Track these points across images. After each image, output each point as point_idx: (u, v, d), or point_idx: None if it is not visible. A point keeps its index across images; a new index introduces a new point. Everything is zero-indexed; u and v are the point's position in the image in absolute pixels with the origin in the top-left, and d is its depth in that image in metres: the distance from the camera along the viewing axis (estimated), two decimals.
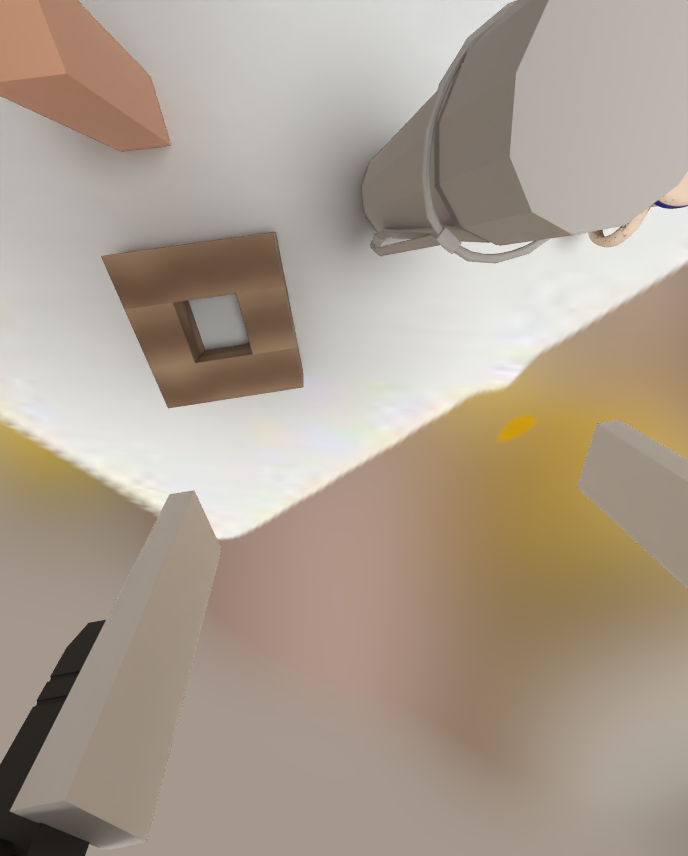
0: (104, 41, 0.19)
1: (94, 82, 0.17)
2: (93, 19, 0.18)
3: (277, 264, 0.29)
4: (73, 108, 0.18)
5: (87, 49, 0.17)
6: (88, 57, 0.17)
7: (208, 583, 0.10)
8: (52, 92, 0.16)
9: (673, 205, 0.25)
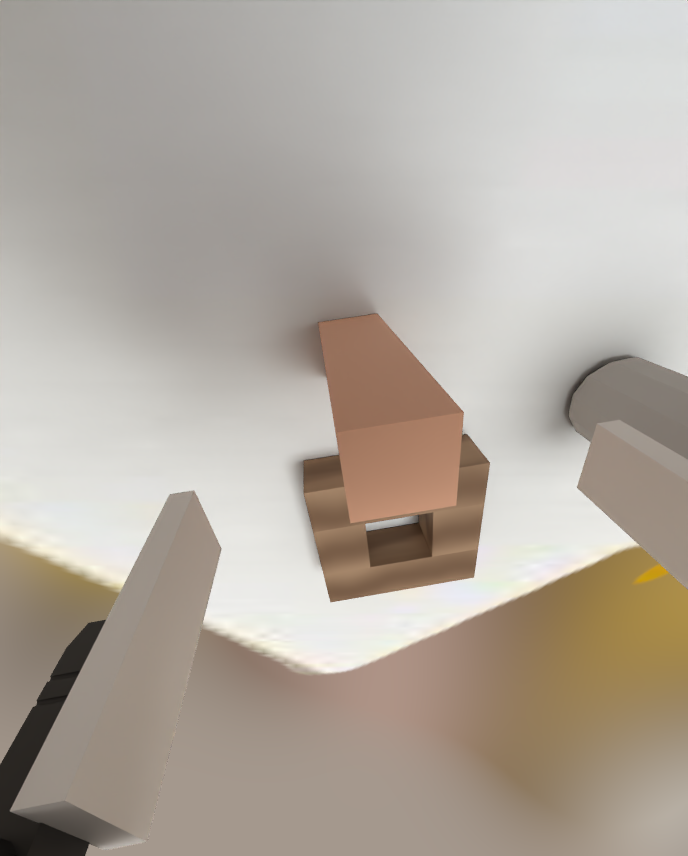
0: None
1: None
2: (411, 354, 0.15)
3: (484, 487, 0.26)
4: None
5: None
6: None
7: (208, 583, 0.10)
8: None
9: None
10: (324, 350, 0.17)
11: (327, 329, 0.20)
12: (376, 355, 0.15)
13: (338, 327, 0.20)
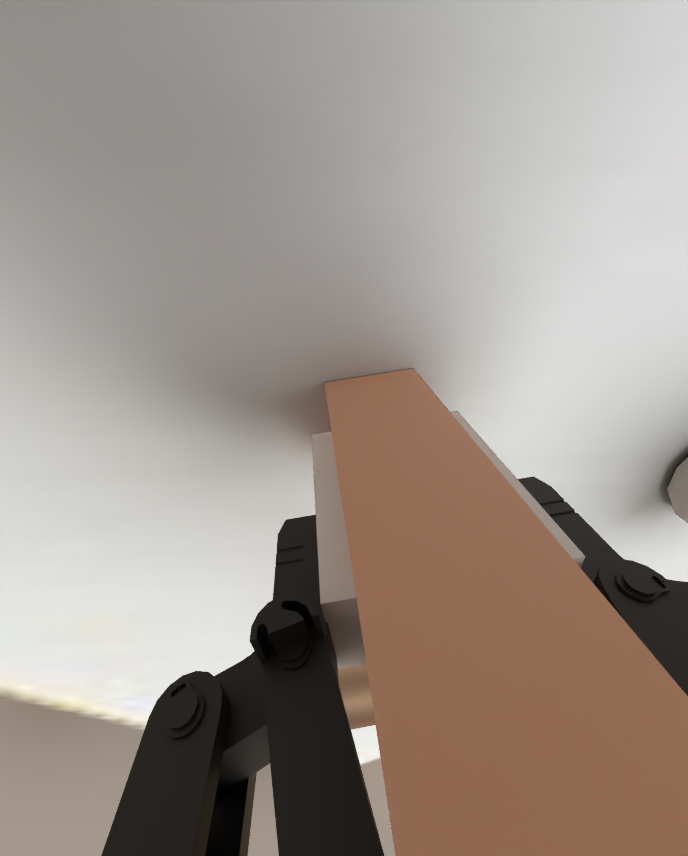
0: None
1: None
2: (514, 493, 0.08)
3: None
4: None
5: None
6: None
7: None
8: None
9: None
10: (339, 463, 0.09)
11: (339, 401, 0.13)
12: (445, 496, 0.08)
13: (357, 397, 0.13)
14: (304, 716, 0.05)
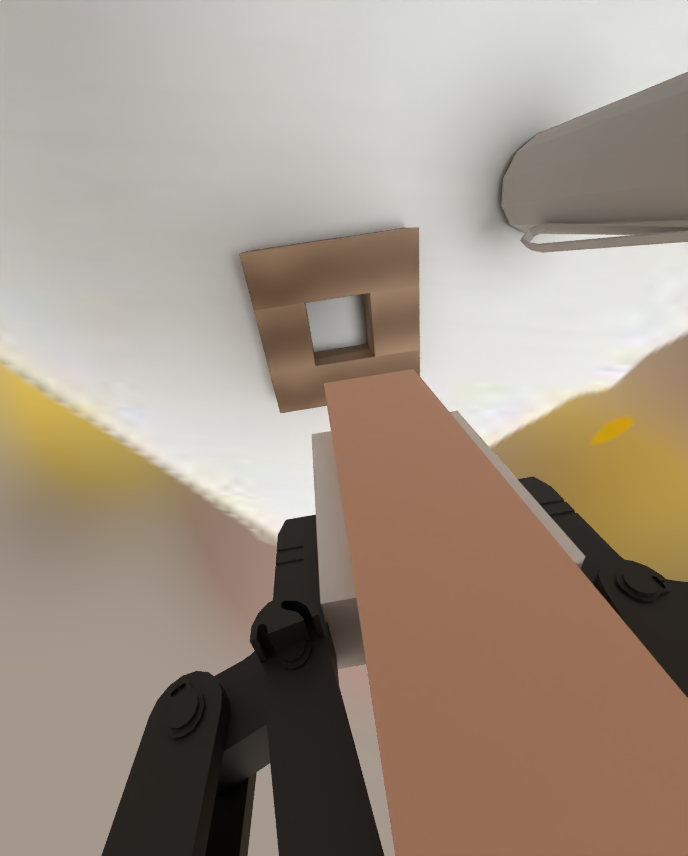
0: None
1: None
2: (514, 495, 0.08)
3: (417, 261, 0.27)
4: None
5: None
6: None
7: None
8: None
9: None
10: (339, 464, 0.09)
11: (340, 402, 0.13)
12: (445, 497, 0.08)
13: (357, 398, 0.13)
14: (304, 716, 0.05)
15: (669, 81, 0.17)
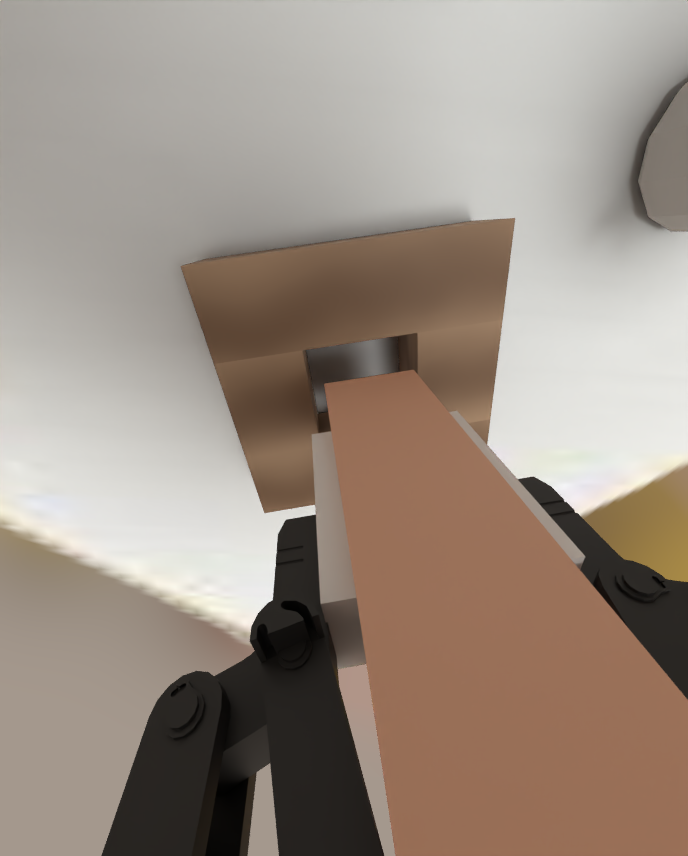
0: None
1: None
2: (514, 496, 0.08)
3: (504, 280, 0.15)
4: None
5: None
6: None
7: None
8: None
9: None
10: (339, 465, 0.09)
11: (340, 402, 0.13)
12: (445, 498, 0.08)
13: (357, 399, 0.13)
14: (304, 716, 0.05)
15: None
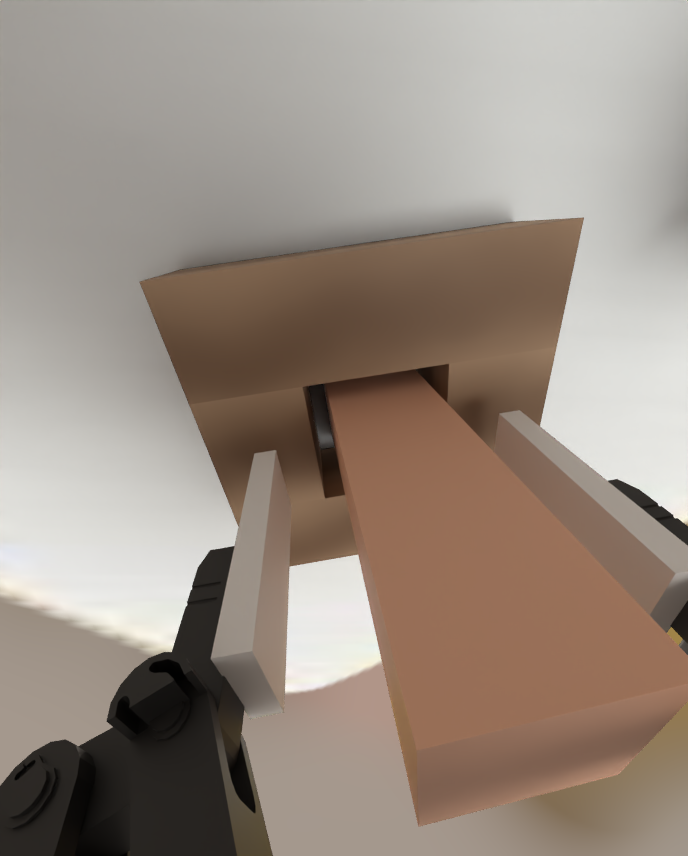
0: None
1: None
2: (484, 445, 0.09)
3: (563, 297, 0.12)
4: None
5: None
6: None
7: (288, 531, 0.12)
8: None
9: None
10: (339, 429, 0.11)
11: (336, 382, 0.14)
12: (428, 449, 0.09)
13: (351, 379, 0.14)
14: (175, 792, 0.05)
15: None
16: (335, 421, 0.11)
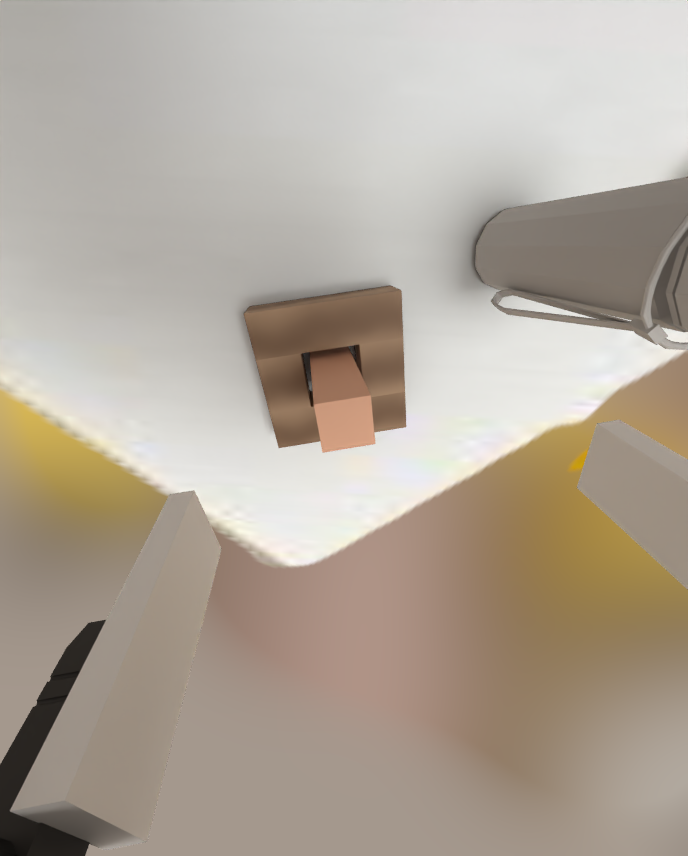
0: None
1: None
2: (358, 369, 0.28)
3: (400, 318, 0.31)
4: None
5: None
6: None
7: (208, 583, 0.10)
8: None
9: None
10: (311, 367, 0.30)
11: (314, 354, 0.33)
12: (339, 370, 0.28)
13: (321, 352, 0.33)
14: None
15: (598, 195, 0.20)
16: None
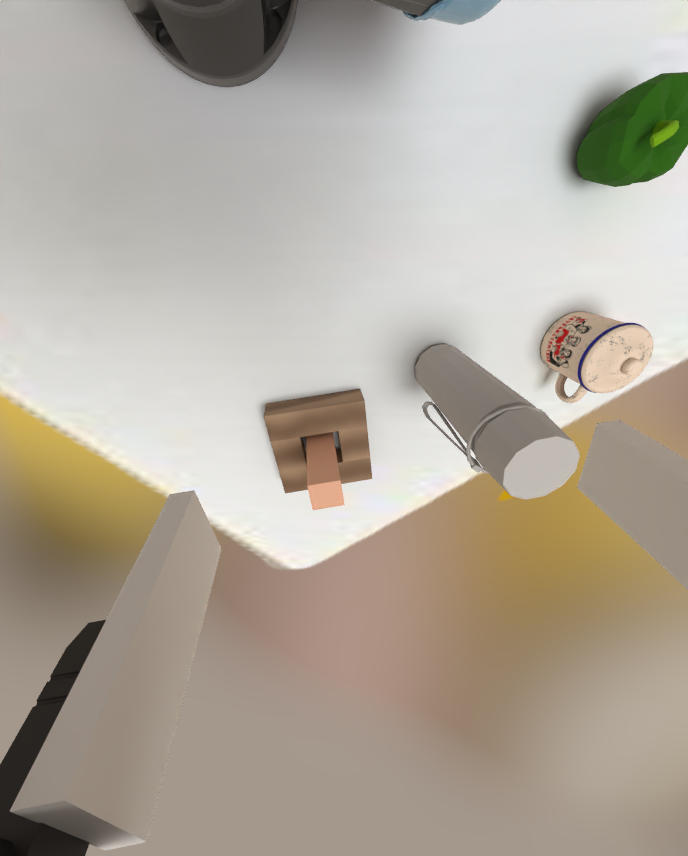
0: None
1: None
2: None
3: (364, 415, 0.47)
4: None
5: (339, 475, 0.44)
6: None
7: (208, 583, 0.10)
8: None
9: (600, 392, 0.44)
10: (307, 448, 0.47)
11: None
12: (324, 453, 0.45)
13: None
14: None
15: (464, 377, 0.37)
16: (306, 446, 0.47)
